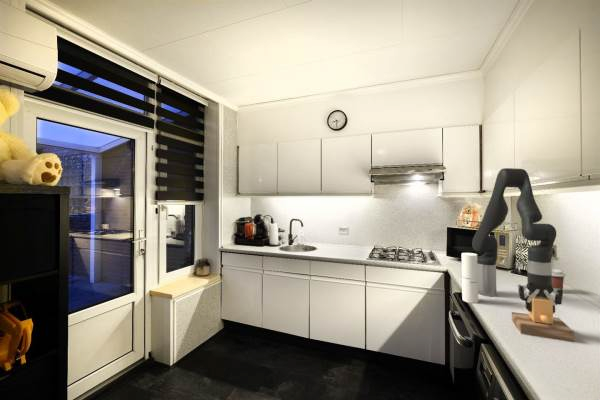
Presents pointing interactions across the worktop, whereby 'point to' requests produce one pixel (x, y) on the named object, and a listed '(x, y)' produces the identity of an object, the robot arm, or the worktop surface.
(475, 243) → the robot arm
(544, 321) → the peach foam cube
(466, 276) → the cylindrical container
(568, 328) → the brown slab
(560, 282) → the coffee cup
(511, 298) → the worktop surface
